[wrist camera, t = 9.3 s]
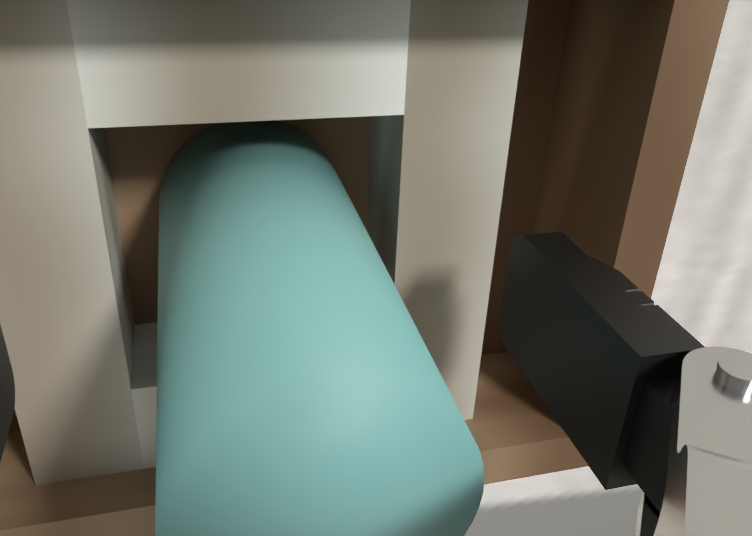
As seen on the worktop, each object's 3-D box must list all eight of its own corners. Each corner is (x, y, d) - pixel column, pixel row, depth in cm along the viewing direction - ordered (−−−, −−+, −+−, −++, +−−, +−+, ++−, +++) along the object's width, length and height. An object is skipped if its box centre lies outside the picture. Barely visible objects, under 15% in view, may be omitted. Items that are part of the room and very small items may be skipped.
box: (609, -88, 14) (748, -72, 11) (531, 359, 20) (607, 462, 16) (-284, -114, 11) (-488, -103, 7) (-81, 441, 16) (-145, 595, 13)
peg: (342, 113, 14) (505, 368, 7) (337, 272, 16) (465, 590, 9) (149, 120, 13) (135, 414, 6) (168, 287, 15) (172, 650, 8)
